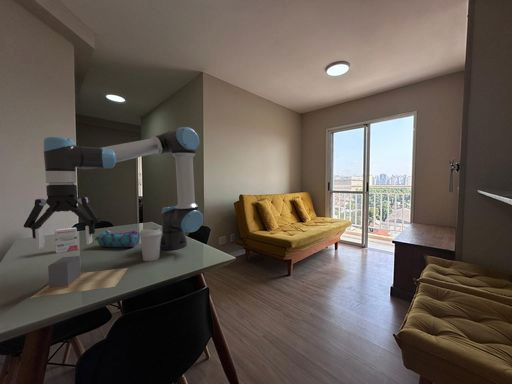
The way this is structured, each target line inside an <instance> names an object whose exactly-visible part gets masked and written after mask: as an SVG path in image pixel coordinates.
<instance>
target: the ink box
mask: <svg viewBox="0 0 512 384" xmlns="http://www.w3.org/2000/svg"><path fill="white" fill-rule="evenodd" d="M54 239H55V245H54V246H55V253H56V254H58V253H66V252H70V251H76V250H78V229H77V227H76V226H75V227H67V228H59V229H55V231H54Z"/></svg>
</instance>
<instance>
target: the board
mask: <svg viewBox="0 0 512 384" xmlns="http://www.w3.org/2000/svg"><path fill="white" fill-rule="evenodd" d="M128 269H129V267H124V268H123V267H122V268H116V269H115V268H114V269H107V270H97V271H87V272H80V275H81V277H80V278H79V279H78V280H77V281H75V282H74V283H73V284H72V285H71V286H70V287H68V288H62V289H54V290H49V284H47V285H46V286H44V287H43V288H42V289H41V290H40V289H39V291H38V292H36V293H35V294H33V295H32V296H31V297H30V299H32V298H41V297H42V298H43V297H48V296H55V295H57V296H58V295H62V294H72V293H78V292H84V291H85V292H86V291H94V290H100V289H101V290H102V289H108V288H109V289H110V288H115V287H116V285H117V284H118V283H119V281H120V280H121V279H122V277H123V276H124V275H125V273H127V271H128Z"/></svg>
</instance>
